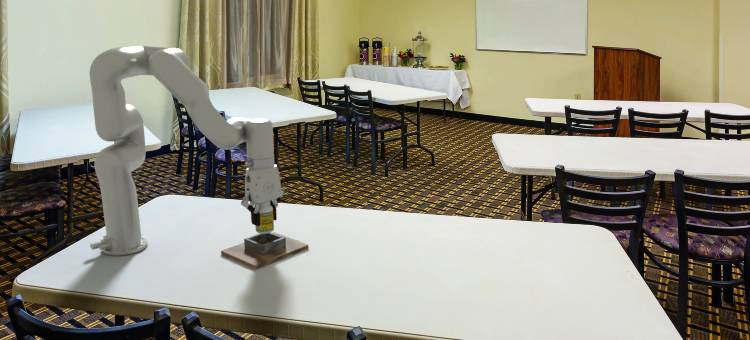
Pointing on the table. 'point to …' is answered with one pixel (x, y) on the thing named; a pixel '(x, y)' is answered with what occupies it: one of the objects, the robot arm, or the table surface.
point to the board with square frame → (264, 249)
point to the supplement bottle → (265, 218)
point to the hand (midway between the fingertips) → (264, 221)
